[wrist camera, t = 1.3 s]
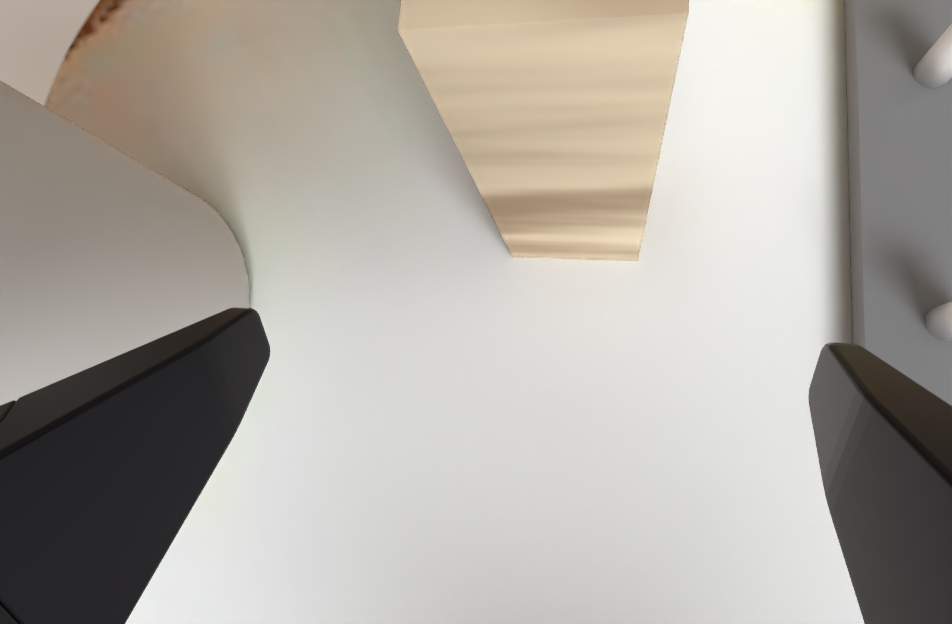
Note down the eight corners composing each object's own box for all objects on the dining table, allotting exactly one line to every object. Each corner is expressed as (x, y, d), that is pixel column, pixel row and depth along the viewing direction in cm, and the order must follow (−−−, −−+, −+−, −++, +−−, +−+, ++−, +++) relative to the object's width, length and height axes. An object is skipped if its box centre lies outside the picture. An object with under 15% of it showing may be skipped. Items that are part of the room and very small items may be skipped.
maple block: (637, 260, 23) (688, 12, 9) (512, 256, 24) (397, 30, 10) (643, 143, 24) (696, -235, 10) (522, 144, 25) (428, -196, 11)
